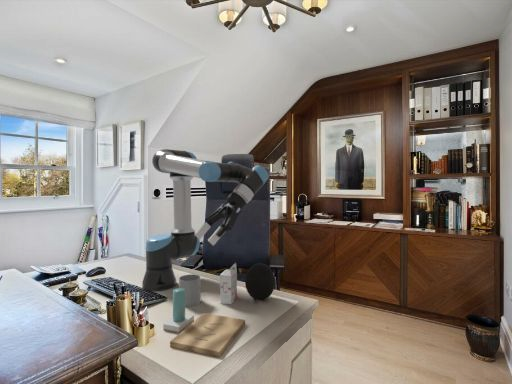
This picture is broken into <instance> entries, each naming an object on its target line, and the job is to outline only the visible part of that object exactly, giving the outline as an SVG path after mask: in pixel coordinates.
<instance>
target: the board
mask: <svg viewBox="0 0 512 384" xmlns="http://www.w3.org/2000/svg"><path fill="white" fill-rule="evenodd" d="M245 325H246V319H243V318H242V319H241V318H236V317H230V316H225V315H217V314H212V313H206V312H203V313H202V314H201V315H200V316H198V317H197V318H196V319H194V321H193V322H192V323H191V324H189V325H188V326H187V327H186V328H185V329H183V330H182V331H181V332H180V333H177V335H176V336H175V337H173V338H172V339H171V340H170V341H169V347H171V348H175V349H180V350H185V351H190V352H194V353H198V354H202V355H206V356H207V355H208V356H212V357H216V358H220V357H221V356H222V354H223V353H224V352H225V351H226V350H227V348H228V347H229V346H230V345H231V344H232V342H233V341H234V339H235V338H236V337H237V335H238V334H239V333H240V332H241V331H242V329H243V328H244V327H245Z"/></svg>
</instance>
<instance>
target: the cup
mask: <svg viewBox="0 0 512 384" xmlns="http://www.w3.org/2000/svg"><path fill="white" fill-rule="evenodd" d="M178 282H179V283H178V285H179V286H178V288H183V289H185V307H193V306H197V305H200V303H201V300H202V299H201V276H200V275H199V274H191V273H190V274H184V275H182V276H180V277H179V278H178Z"/></svg>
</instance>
